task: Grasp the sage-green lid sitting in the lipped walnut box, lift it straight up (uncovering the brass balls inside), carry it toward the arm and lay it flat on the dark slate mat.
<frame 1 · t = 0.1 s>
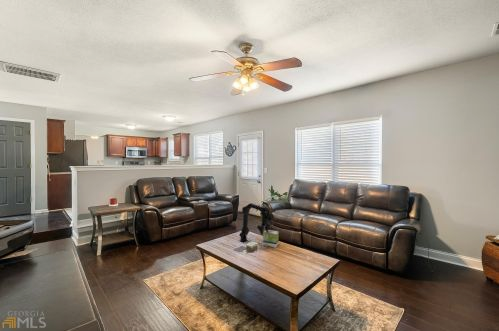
hand: (264, 233, 237), 15 cm above the table, fingers open, 9 cm apart
tea box: (270, 245, 244), on the table, touching gripper
walnut box: (251, 250, 229), on the table
lid: (251, 245, 228), point 5 cm above the table, touching walnut box
slate mat: (240, 249, 232), on the table
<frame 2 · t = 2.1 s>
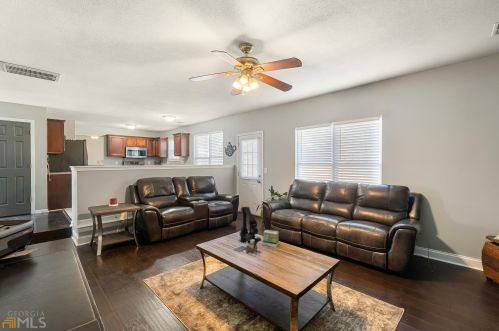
hand: (251, 246, 228), 4 cm above the table, fingers closed on lid, 6 cm apart
tea box: (270, 245, 244), on the table
lid: (251, 245, 228), point 5 cm above the table, touching gripper, walnut box
when the fingers open (2 cm above the table, at t = 7.0 s): lid drops 2 cm, resting on slate mat.
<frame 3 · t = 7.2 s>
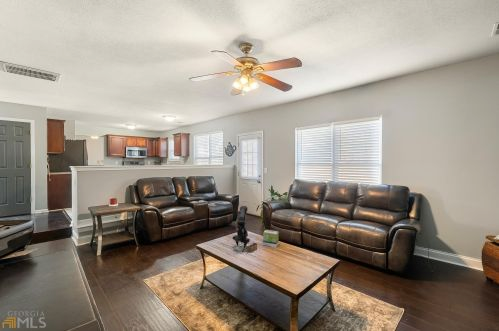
hand: (241, 247, 232), 2 cm above the table, fingers open, 9 cm apart
lid: (240, 248, 232), resting on slate mat
everything else where it was.
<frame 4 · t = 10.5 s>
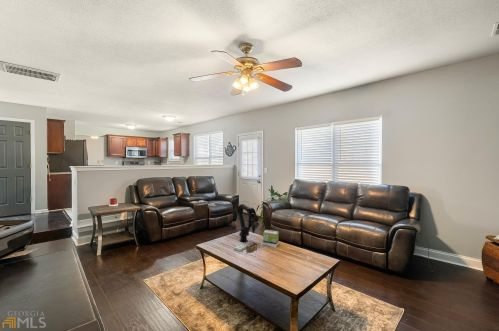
hand: (250, 234, 242), 12 cm above the table, fingers open, 9 cm apart
nothing on the table moved.
at the end: lid inside the target area on the slate mat (0.0 cm from its centre), point 0.4 cm above the slate mat's base; lid tilted 0°; lid touching slate mat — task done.
